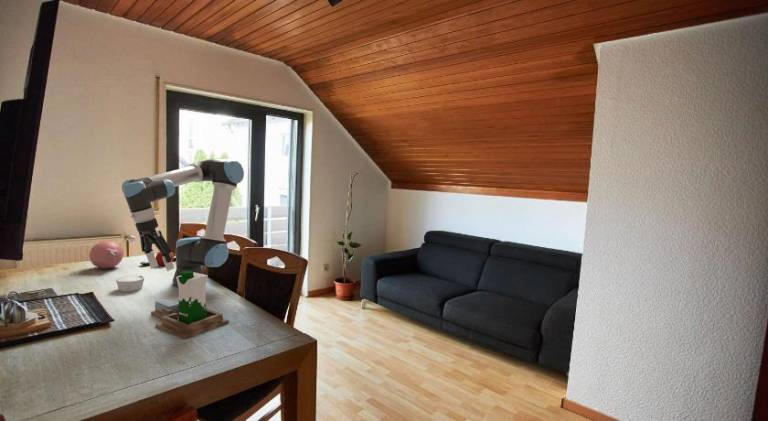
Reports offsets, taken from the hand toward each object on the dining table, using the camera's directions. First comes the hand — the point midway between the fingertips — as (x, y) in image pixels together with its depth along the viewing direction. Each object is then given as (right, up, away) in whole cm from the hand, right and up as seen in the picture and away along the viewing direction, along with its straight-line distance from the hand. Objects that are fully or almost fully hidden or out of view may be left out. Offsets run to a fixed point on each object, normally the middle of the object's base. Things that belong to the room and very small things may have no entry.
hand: (162, 268), depth 160 cm
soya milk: (+19, -18, -13) cm, 30 cm away
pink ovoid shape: (-61, -9, +53) cm, 81 cm away
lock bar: (+5, -16, -5) cm, 18 cm away
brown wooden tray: (+14, -19, -10) cm, 25 cm away
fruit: (-37, -8, +67) cm, 78 cm away
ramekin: (-28, -14, +23) cm, 39 cm away
